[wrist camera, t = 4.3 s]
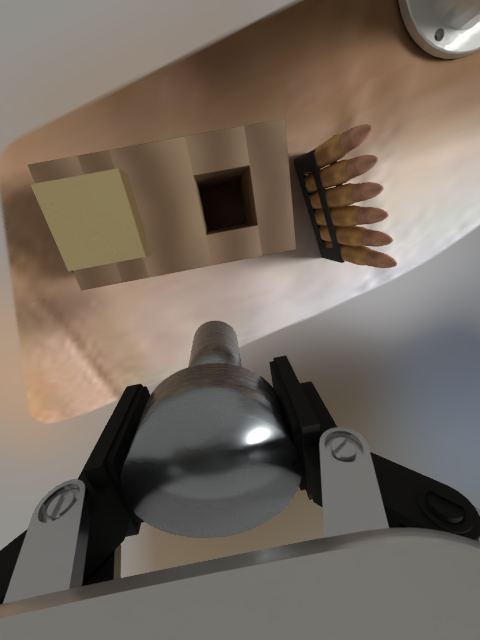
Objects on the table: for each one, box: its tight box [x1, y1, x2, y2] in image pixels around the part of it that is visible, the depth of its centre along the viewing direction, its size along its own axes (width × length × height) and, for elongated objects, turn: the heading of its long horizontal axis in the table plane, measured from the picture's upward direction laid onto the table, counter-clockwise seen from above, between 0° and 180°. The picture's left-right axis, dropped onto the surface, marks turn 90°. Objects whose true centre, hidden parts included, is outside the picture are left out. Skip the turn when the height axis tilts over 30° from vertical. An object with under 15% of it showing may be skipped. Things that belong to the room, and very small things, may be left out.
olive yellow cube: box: [30, 169, 151, 271], centre depth 17 cm, size 5×5×5 cm
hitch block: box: [28, 119, 296, 290], centre depth 23 cm, size 18×9×8 cm, turn 100°
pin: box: [121, 321, 302, 538], centre depth 12 cm, size 5×5×10 cm
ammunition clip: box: [294, 124, 397, 268], centre depth 22 cm, size 11×2×12 cm, turn 24°
